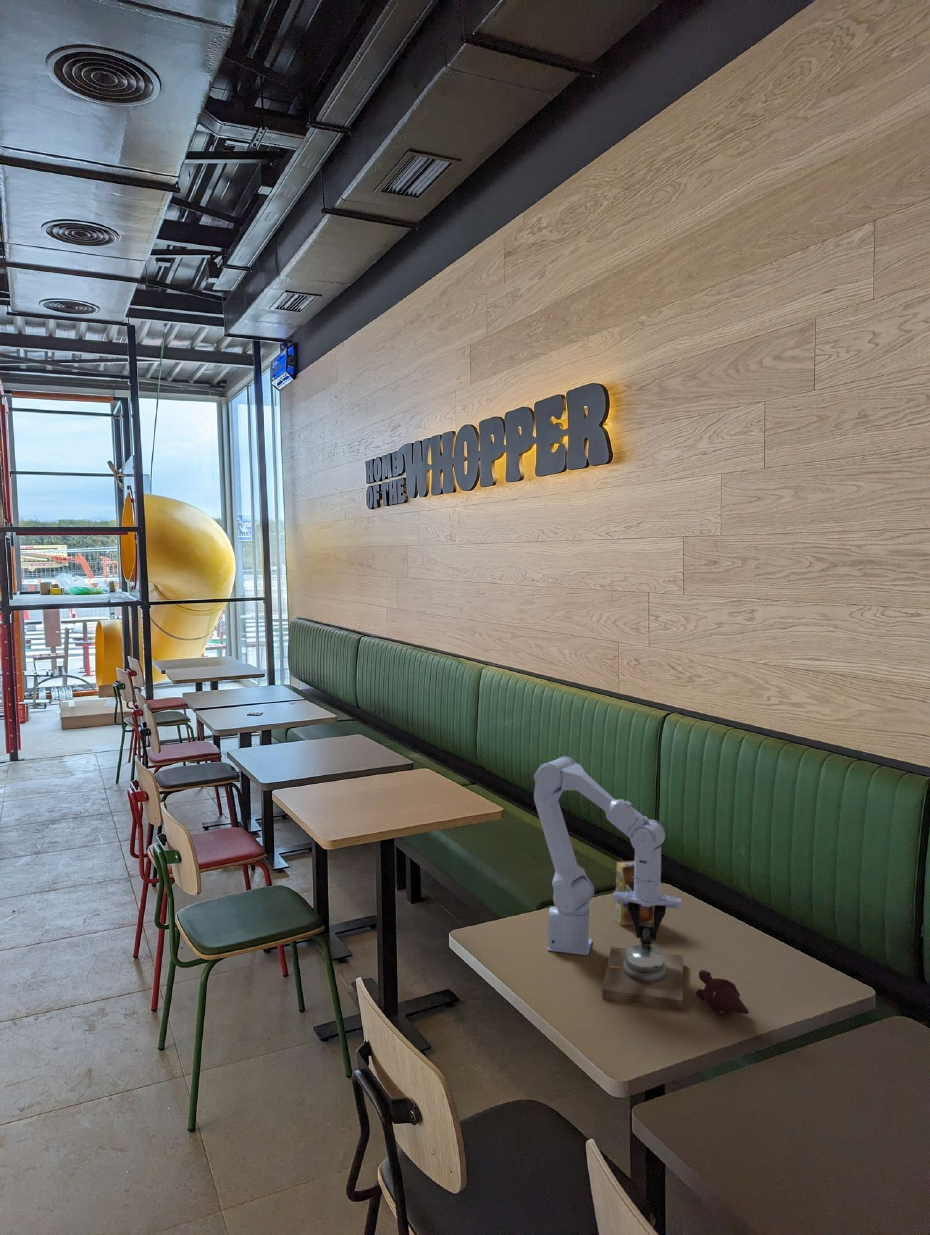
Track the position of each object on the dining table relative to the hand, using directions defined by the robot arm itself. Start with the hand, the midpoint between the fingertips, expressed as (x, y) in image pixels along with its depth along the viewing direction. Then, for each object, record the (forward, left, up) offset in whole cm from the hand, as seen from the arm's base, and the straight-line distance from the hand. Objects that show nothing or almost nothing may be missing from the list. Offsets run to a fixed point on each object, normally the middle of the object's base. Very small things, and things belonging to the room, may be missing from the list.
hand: (646, 937), depth 184 cm
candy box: (-4, +24, -7) cm, 25 cm away
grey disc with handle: (0, -4, -3) cm, 5 cm away
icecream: (+16, -15, -7) cm, 23 cm away
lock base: (0, -6, -7) cm, 9 cm away
